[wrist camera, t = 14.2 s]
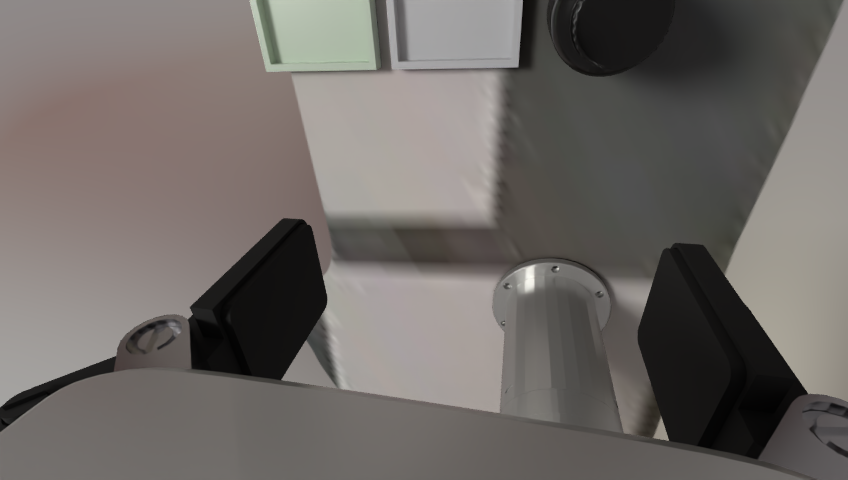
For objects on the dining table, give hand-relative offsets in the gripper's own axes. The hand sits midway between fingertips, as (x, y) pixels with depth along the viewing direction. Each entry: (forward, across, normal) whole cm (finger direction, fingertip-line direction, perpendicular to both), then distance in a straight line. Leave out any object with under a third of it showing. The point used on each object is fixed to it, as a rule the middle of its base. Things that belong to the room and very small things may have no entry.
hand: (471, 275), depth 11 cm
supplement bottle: (+28, -6, -5) cm, 30 cm away
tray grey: (+28, +4, -6) cm, 29 cm away
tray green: (+28, +16, -6) cm, 33 cm away
